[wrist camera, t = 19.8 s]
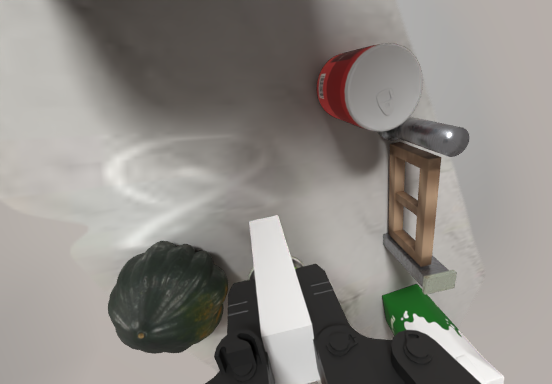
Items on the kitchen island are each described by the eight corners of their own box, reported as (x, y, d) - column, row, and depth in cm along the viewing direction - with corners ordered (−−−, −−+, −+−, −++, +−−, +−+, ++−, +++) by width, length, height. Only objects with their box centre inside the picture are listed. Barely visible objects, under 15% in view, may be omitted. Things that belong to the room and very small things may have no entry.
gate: (389, 143, 39) (428, 159, 31) (399, 141, 39) (441, 157, 31) (388, 234, 45) (420, 266, 37) (397, 232, 45) (431, 264, 37)
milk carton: (376, 293, 51) (456, 413, 33) (421, 278, 51) (526, 389, 33) (382, 324, 54) (457, 448, 36) (424, 310, 55) (520, 426, 36)
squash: (215, 347, 43) (218, 375, 29) (113, 339, 40) (64, 366, 26) (230, 256, 48) (238, 243, 34) (140, 244, 45) (110, 225, 31)
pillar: (381, 233, 46) (426, 279, 35) (405, 228, 46) (456, 272, 35) (381, 245, 47) (424, 294, 36) (404, 240, 47) (454, 287, 36)
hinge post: (377, 111, 37) (437, 124, 26) (407, 105, 38) (478, 116, 27) (377, 142, 39) (433, 166, 28) (406, 137, 39) (472, 159, 29)
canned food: (336, 129, 38) (374, 147, 28) (302, 82, 35) (330, 83, 25) (381, 91, 36) (437, 96, 26) (350, 39, 33) (399, 22, 23)
